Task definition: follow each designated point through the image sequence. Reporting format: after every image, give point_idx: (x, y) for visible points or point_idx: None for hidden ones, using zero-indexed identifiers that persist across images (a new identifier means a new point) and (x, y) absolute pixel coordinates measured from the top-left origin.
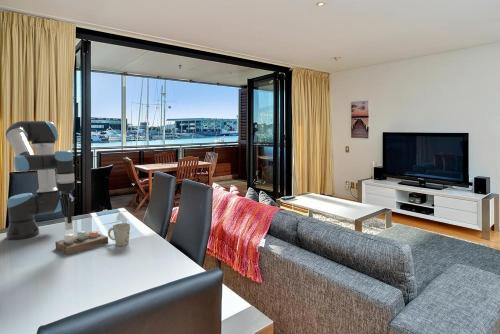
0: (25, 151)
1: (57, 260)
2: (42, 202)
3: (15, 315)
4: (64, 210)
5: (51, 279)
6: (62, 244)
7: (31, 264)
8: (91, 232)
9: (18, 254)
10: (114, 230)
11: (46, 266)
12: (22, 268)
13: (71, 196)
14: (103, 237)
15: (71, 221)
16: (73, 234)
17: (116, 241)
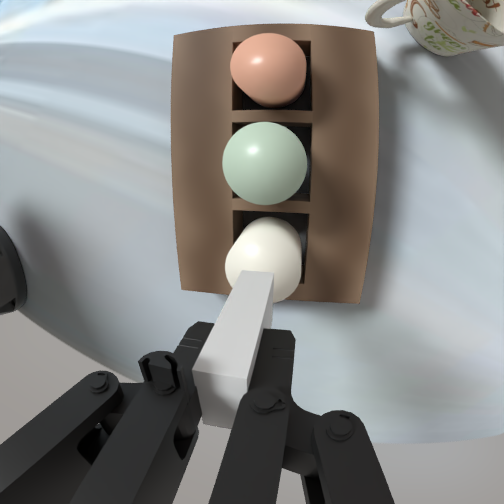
0: None
1: (372, 335)
2: None
3: (495, 428)
4: (172, 499)
5: (473, 383)
6: None
7: (317, 393)
8: (260, 78)
9: None
10: (494, 41)
11: (387, 374)
12: (325, 412)
13: None
14: (363, 52)
15: (294, 346)
16: (276, 244)
17: (453, 52)
